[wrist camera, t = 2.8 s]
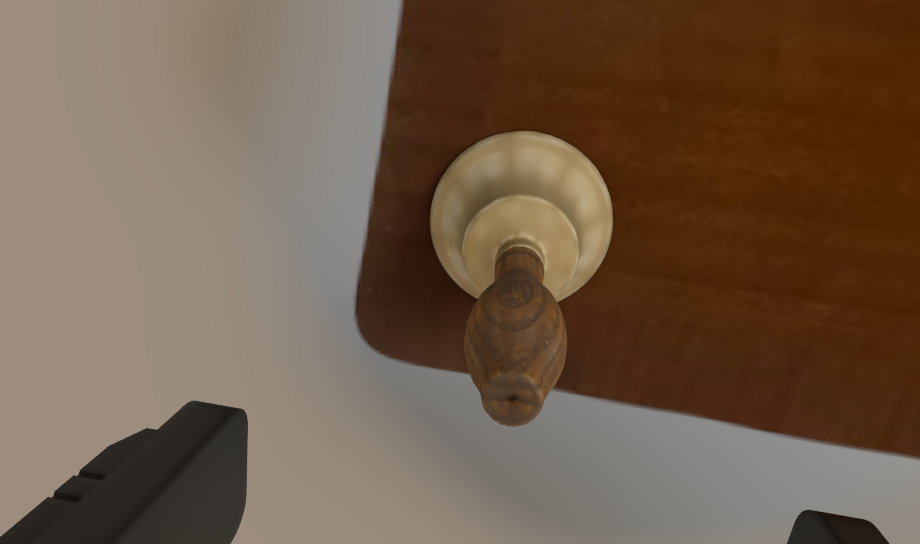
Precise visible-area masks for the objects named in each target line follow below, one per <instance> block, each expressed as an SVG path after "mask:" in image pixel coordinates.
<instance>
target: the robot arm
mask: <svg viewBox="0 0 920 544" xmlns="http://www.w3.org/2000/svg"><path fill="white" fill-rule="evenodd" d="M247 437H248V421H247V415H246V413H245V411H244V410H243V409H239V408H233V407H228V406H222V405H216V404H210V403H205V402H199V401H191V402H188V403H187V404H186V405H185V406H183V407H182V408H181V409H180V410H179V411H178V412H177V413H176V414H174V415H173V416H172V417H171V418H170V419H169V420H168V421H167V422H166V423H164V424H163V425H162V426H161V427H160V428H159V429H158V430H154V429H148V428H146V429H144V430H142V431H140V432H138V433H136V434H133V435H131V436H129V437H127V438H125V439H123V440H121V441H118V442H116V443H114V444H112V445H110V446H108V447H107V448H106V449H105V450H104V451H102V452H101V453H100V454H99V455H98V456H96V457H95V458H94V459H93V460H92V461H90V462H89V463H88V464H87V465H86V466H84V467H83V468H82V469H81V470H80V472H79V475H78V476H73V477H71V478H70V479H69V480H68V481H67V482H66V483H64V484H63V485H62V486H61V487H59V488H58V489H57V490H56V491H55V493H54V496H53V497H52V498H50V497H47V499H45V500H44V501H43V502H42V503H40V504H39V505H38V506H37V507H36V508H35V509H33V510H32V511H31V512H30V513H28V514H27V515H26V516H25V517H24V518H22V519H21V520H20V521H19V522H18V523H16V524H15V525H14V526H13V527H12V528H11V529H9V530H8V531H7V532H6V533H5V534H3V535H2V536H1V537H0V544H230V543H231V542H232V540H233V538H234V537H235V535H236V532H237V530H238V528H239V525H240V523H241V520H242V516H243V513H244V508H245V502H246V489H247V439H248V438H247ZM787 544H889V543H888V541H887V540H886V539H885V538H884V536H883V535H882V534H881V533H880V531H879V530H878V529H877V528H876V527H875V526H874V525H873V524H872V523H871V522H869V521H867V520H864V519H859V518H852V517H847V516H842V515H836V514H830V513H824V512H818V511H813V510H805V511H803V512H801V514H800V515H799V516H798V517H797V519H796V521H795V523H794V526H793V529H792V532H791V534H790V537H789V540H788V543H787Z"/></svg>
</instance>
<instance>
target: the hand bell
mask: <svg viewBox="0 0 920 544" xmlns="http://www.w3.org/2000/svg"><path fill="white" fill-rule="evenodd" d="M612 228H613V213H612V203H611V199H610V195H609V192H608V190H607V187H606V184H605V182H604V180H603V179H602V177H601V175H600V173H599V171H598V170H597V169H596V167H595V166H594V165H593V164H592V162H591V161H590V160H589V159H588V158H587V157H586V156H585V155H584V154H582V153H581V152H580V151H579V150H578V149H576V148H575V147H573V146H572V145H570V144H569V143H567V142H565V141H563V140H561V139H559V138H556V137H554V136H551V135H547V134H543V133H539V132H532V131H515V132H507V133H502V134H498V135H494V136H491V137H489V138H486V139H484V140H481V141H479V142H477V143H476V144H475V145H473V146H471V147H469V148H468V149H467V150H465V151H464V152H463V153H461V154H460V155H459V156H458V157H457V158H456V159H455V160H454V161H453V162H452V163H451V165H450V166H449V167H448V169H447V170H446V172H445V173H444V175H443V176H442V178H441V179H440V181H439V184H438V186H437V188H436V191H435V194H434V197H433V201H432V206H431V213H430V229H431V236H432V242H433V246H434V248H435V251H436V254H437V256H438V258H439V261H440V262H441V264H442V266H443V267H444V269H445V270H446V272H447V273H448V274H449V276H450V277H451V278H452V279H453V280H454V281H455V282H456V283H457V284H458V285H459V286H460V287H461V288H462V289H463V290H464V291H466V292H467V293H469V294H470V295H472V296H473V297H475V298H477V299H478V300H477V301H476V303H475V305H474V307H473V309H472V311H471V313H470V316H469V318H468V322H467V327H466V332H465V338H464V349H465V359H466V362H467V366H468V370H469V373H470V375H471V377H472V380H473V382H474V384H475V386H476V387H477V389H478V390H479V392H480V394H481V399H482V404H483V407H484V409H485V411H486V412H487V413H488V414H489V415H490V417H491V418H492V419H493V420H495V421H496V422H498V423H500V424H502V425H507V426H520V425H525V424H527V423H529V422H530V421H531V420H533V419H534V418H535V417H536V416H537V415H538V414H539V412H540V411H541V409H542V406H543V403H544V400H545V398H546V396H547V395H548V393H549V392H550V391H551V390H552V388H553V387H554V385H555V384H556V382H557V380H558V378H559V376H560V374H561V372H562V370H563V367H564V363H565V358H566V353H567V337H566V329H565V323H564V318H563V315H562V312H561V310H560V308H559V305H558V303H557V302H558V301H560V300H563V299H564V298H566V297H568V296H570V295H571V294H573V293H574V292H575V291H577V290H578V289H579V288H581V287H582V286H583V285H584V284H585V283H586V282H587V281H588V280H589V279H590V278H591V277H592V276H593V274H594V273H595V272H596V271H597V269H598V268H599V266H600V264H601V263H602V261H603V259H604V257H605V255H606V252H607V250H608V247H609V244H610V239H611V235H612Z"/></svg>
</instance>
